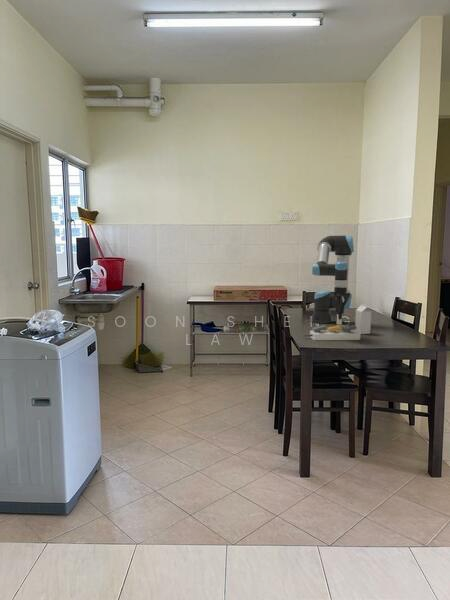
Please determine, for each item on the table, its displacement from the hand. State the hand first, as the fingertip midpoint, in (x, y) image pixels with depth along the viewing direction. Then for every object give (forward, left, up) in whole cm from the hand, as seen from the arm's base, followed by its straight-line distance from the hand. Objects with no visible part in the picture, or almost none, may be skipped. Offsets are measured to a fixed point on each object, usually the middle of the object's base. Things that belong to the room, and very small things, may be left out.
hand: (339, 324), depth 273 cm
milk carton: (-13, +21, -9) cm, 26 cm away
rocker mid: (0, -3, -3) cm, 4 cm away
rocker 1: (0, -12, -3) cm, 13 cm away
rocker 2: (0, +7, -3) cm, 7 cm away
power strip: (+1, -5, -9) cm, 10 cm away
